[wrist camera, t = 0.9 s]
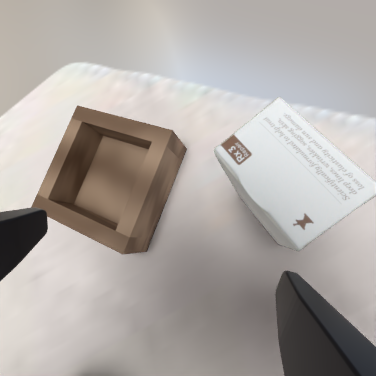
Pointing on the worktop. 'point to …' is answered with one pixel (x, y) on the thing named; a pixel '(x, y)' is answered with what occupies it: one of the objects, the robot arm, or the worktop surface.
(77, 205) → the walnut socket
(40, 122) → the worktop surface
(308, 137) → the skincare box
